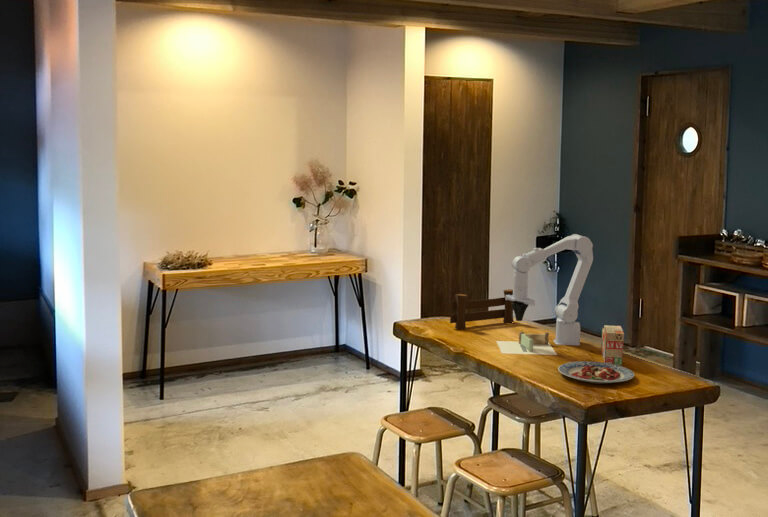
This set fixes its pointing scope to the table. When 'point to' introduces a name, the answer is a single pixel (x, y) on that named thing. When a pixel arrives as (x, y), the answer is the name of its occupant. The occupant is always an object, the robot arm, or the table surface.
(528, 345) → the pale green bar
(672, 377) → the table surface
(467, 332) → the table surface
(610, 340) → the stack of blocks
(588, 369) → the ceramic plate
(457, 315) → the decorative fence
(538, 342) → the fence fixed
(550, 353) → the card
